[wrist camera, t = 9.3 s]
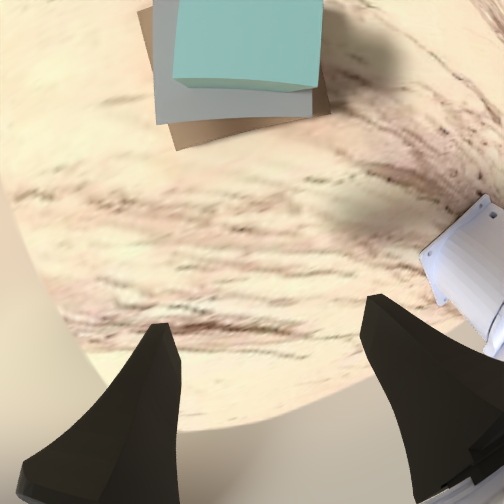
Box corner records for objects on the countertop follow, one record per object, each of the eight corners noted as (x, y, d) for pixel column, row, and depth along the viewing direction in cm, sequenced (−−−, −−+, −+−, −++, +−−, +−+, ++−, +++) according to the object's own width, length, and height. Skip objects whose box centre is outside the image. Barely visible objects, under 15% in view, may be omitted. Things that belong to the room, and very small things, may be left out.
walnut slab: (286, -11, 13) (294, -23, 11) (319, 112, 17) (331, 114, 15) (145, 21, 13) (137, 11, 11) (181, 146, 17) (176, 151, 15)
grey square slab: (296, -3, 12) (307, -16, 10) (300, 115, 15) (312, 117, 13) (160, 1, 11) (153, -12, 9) (164, 122, 15) (156, 125, 13)
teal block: (291, 10, 10) (323, -27, 6) (285, 92, 13) (317, 87, 8) (196, 4, 10) (185, -39, 6) (189, 88, 12) (172, 78, 8)
